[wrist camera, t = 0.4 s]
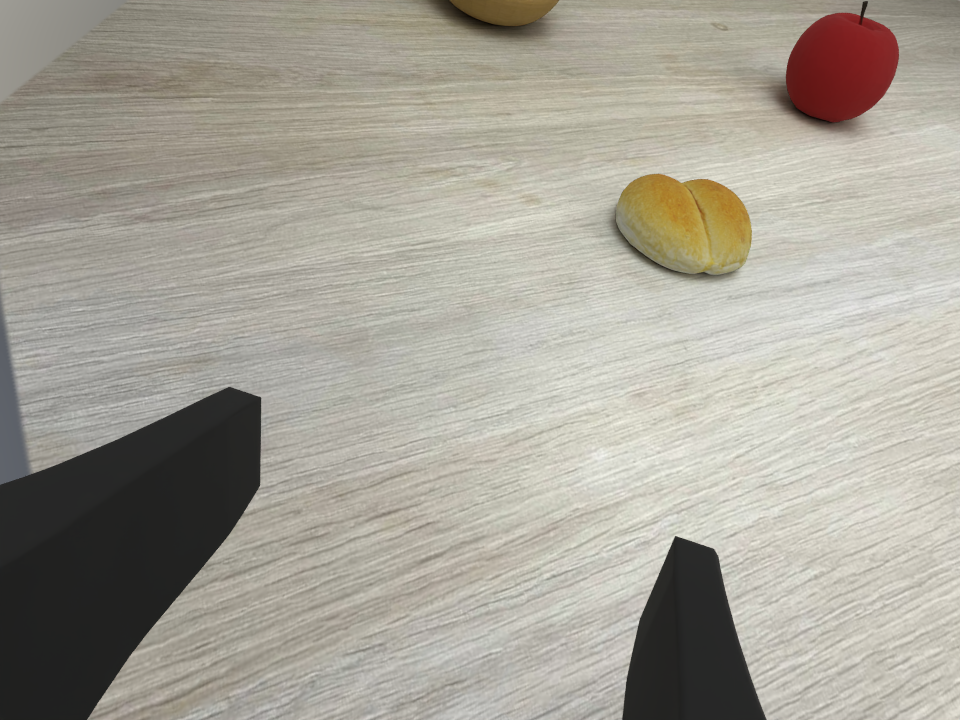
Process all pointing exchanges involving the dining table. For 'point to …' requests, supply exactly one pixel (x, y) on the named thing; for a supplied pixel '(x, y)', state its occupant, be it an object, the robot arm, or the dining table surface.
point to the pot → (506, 10)
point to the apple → (841, 66)
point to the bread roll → (685, 224)
